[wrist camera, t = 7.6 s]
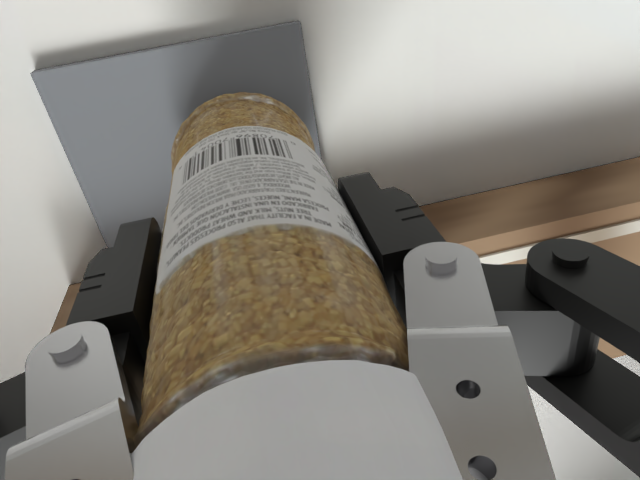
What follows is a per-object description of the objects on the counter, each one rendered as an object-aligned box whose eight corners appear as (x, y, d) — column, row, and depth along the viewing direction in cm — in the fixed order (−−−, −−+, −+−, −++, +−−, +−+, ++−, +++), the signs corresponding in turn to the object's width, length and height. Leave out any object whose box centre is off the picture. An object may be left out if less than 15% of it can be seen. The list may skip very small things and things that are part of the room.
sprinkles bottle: (173, 219, 17) (98, 805, 5) (170, 79, 15) (36, 575, 3) (307, 222, 18) (483, 721, 6) (324, 92, 16) (639, 501, 4)
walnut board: (660, 152, 21) (725, 183, 18) (625, 301, 25) (674, 344, 22) (69, 285, 19) (46, 341, 16) (140, 423, 23) (132, 485, 20)
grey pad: (298, 20, 16) (300, 22, 15) (328, 215, 19) (330, 220, 19) (34, 70, 15) (30, 73, 15) (118, 262, 19) (116, 268, 18)
